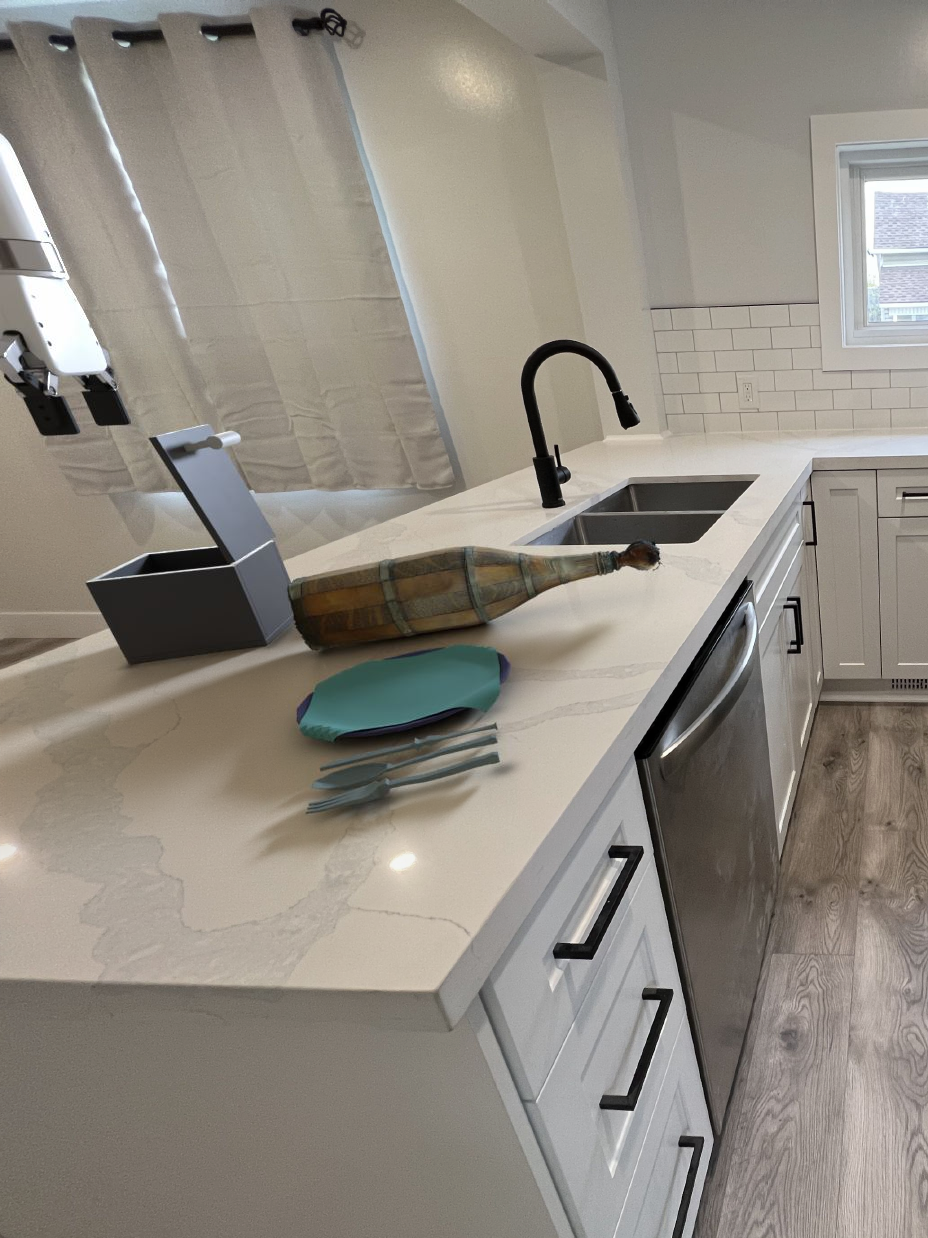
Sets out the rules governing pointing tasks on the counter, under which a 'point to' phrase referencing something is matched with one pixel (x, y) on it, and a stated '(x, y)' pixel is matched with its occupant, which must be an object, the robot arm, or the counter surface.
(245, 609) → the dark grey lidded box
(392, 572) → the decorative bottle
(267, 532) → the lid
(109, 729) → the counter surface
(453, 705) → the cutlery set
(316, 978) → the counter surface
